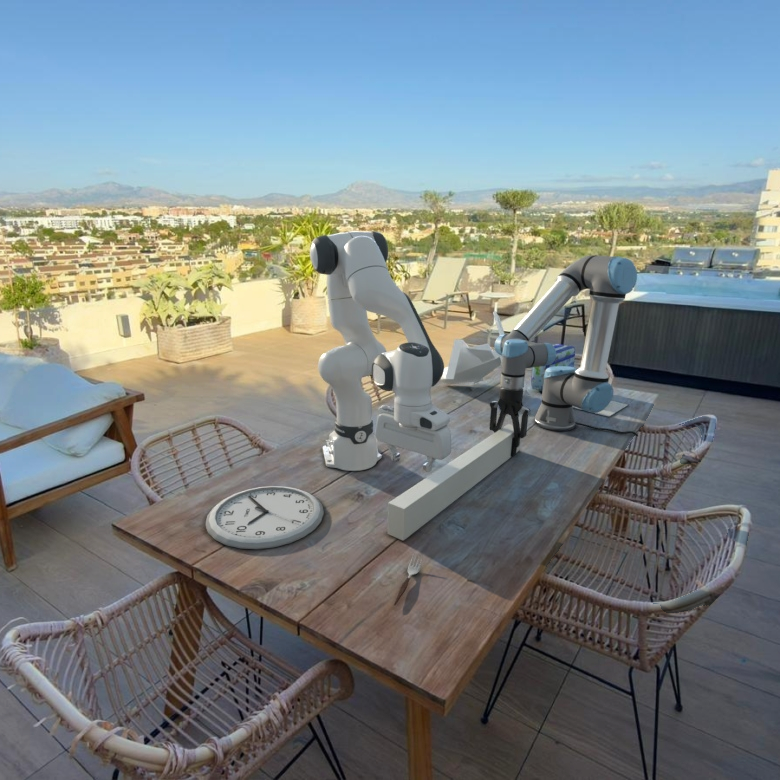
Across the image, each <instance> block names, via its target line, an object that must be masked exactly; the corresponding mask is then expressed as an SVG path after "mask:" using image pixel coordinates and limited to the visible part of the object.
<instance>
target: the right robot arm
mask: <svg viewBox="0 0 780 780" xmlns="http://www.w3.org/2000/svg"><path fill="white" fill-rule="evenodd" d="M637 280H638V271H637V267H636V265H635V264H634V262H633V261H632V260H631V259H630V258H627V257H621V256H608V255H595V254H594V255H593V254H590V255H585V256H583V257H580V258H579V259H577V260H575V261H574V262H572V263H571V264H570V265H568V266H567V267H566V268H564V269H563V270H562V272H561V273H560V274H559V275H557V277H556V278H555V283H554V284H553V285H552V286H551V287H550V289H548V291H547V292H545V294H544V295H543V296H542V297H541V298H540V299H539V300H538V302H537V303H536V304H535V305H533V307H532V308H531V309H530V310H529V312H528V313H527V314H526V315H524V317H523V318H522V319H521V320H520V321H519V322H518V324H517V325H516V326H515V327H514V328H513V329H512V330H511V331H510V333H508V334H505V335H498V337H497V338H496V339H495V341H494V350H495V351H496V352H497V353H498V354H499V355H501V356H502V363H501V370H500V371H501V372H500V382H499V385H500V387H499V394H498V397H499V398H498V400H492V401H491V402H489V407H490V416H489V417H490V418H489V428H488V429H489V431H491V432H493V434H494V433H495V432H497V431H498V430H500V429H501V428H503V424H504V421H505V420H506V416H507V415H509V416H510V418H511V422H512V425H513V429H514V436H515V437H513V438H512V447H511V456H512V457H511V458H513V457H515V456H516V455H517V453H516V450H517V447H519V445H520V446H521V439H524V438H525V437H526V436H527V432H528V425H529V424H528V423H529V415H530V413H531V410H532V409H531V408H529V407H528V408H527V407H525V406H524V404H523V399H524V391H523V387H524V378H525V379H526V369H532V367H540V366H546V365H550V364H552V363H553V362H554V361H555V359H556V350H555V348H554V346H553V345H554V344H552V343H550V342H540V343H539V342H534V341H533V340H534V339H535V338H536V337H537V336H538V335H539V333H541V331H542V330H543V329H544V328H545V327H546V326H547V325H548V324H549V322H551V321H552V319H553V318H554V317H556V315H557V314H558V313H559V311H561V310H562V308H563V307H565V305H566V304H567V303H568V302H569V301H570V300H571V298H572V297H576V296H578V295H579V294H580V293H581V292H582V291H584V290H589V293H588V296H589V297H590V299H591V300H592V303H591V307H590V312H589V313H590V314H589V319H588V323H587V329H586V333H585V340H584V346H583V350H582V356H581V361H580V366H579V367H578V368H577V367H575V366H574V367H569V366H555V367H549V368H547V369H546V370H545V374H544V379H543V390H542V391H541V402H540V405H539V407H538V410H537V411H536V413H535V416H534V424H535V425H536V426H537V427H539V428H542V429H544V430H549V431H556V432H567V431H572V430H574V429H575V428H576V425H577V426H581V427H585V428H588V429H592V430H596V431H603V432H604V431H605V432H611V433H615V434H620V435H626V434H630V435H631V434H632V435H634V436H635V437H639V435H638V433H637V432H635V431H633V430H627V431H620V430H616V429H612V428H607V427H605V428H604V427H597V426H592V425H589V424H586V423H582V422H578V421H576V418H575V417H576V416H575V413H574V407H578V408H580V409H582V410H581V411H584V412H588V411H589V412H588V413H593V414H596V413H597V412H600V411H602V410H604V409H605V408H606V407H607V406H608V404H609V403H610V401H612V399H613V396H614V388H613V385H611V383H609V380H610V375H609V374H608V373H607V366H608V361H609V356H610V351H611V346H612V342H613V336H614V331H615V327H616V326H615V325H616V321H617V316H618V310H619V307H620V304H621V302H623V301H624V300H625V299H626V296H627V294H630V293H632V291H633V289H634V288H635V287H636V284H637ZM498 407H499V409H500V411H499V416H498ZM580 409H579V410H580ZM520 411H521V422H520V418H519V417H520V413H519V412H520ZM497 418H498V420H497ZM520 427H521V431H520Z"/></svg>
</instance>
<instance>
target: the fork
mask: <svg viewBox="0 0 780 780" xmlns="http://www.w3.org/2000/svg"><path fill="white" fill-rule="evenodd" d="M414 555H415V553H413V554H412V557H411V559H410V562H409V565H408V567H407V573H408V576H407V578H406V579H405V580H404V582H403V583H402V584H401V586H400V587H399V591H398V593H397V596H396V598H395V601H394V604H393V606H396V604H397V603H398V602H399V600H400V599H401V598H402V596H403V594H404V593H405V591H406V590H407V588H408V585H409V582H410V579H411V577H412V576H414V575H417V574H418V573H419V572H420V570H421V565H422V561H423V557H424V556H423V555H422V556H421V555H417V554H416V555H415V557H414ZM417 556H418V558H417ZM420 556H421V557H420ZM420 558H421V559H420ZM413 559H414V560H413ZM416 559H417V560H416ZM419 560H420V562H419ZM415 563H416V564H415Z"/></svg>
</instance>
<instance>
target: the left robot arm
mask: <svg viewBox="0 0 780 780" xmlns="http://www.w3.org/2000/svg"><path fill="white" fill-rule="evenodd" d="M388 245H389V244H388V242H387V239H386V237H385V236H384V234H383V233H381V232H379V231H375V230H368V231H360V230H359V231H355V230H354V231H346V232H339V233H333V234H328V235H327V234H323V235H319V236H317V237H314V239H313V240H312V241H311V243H310V249H309V258H310V262H311V265H312V267H313V269H314V270H315V272H317V273H318V274H320V275H325V276H326V296H327V304H328V305H327V306H328V312H329V318H330V321H329V322H330V325H331V327H332V328H333V329H335V330H336V331H337V332H339V333H340V334H341V336H342V338H343V341H344V344H345V345H340V346H336V347H333V348H331V349H329V350H327V351H325V352H324V353H322V354H321V356H320V357H319V359H318V362H317V370H318V373H319V375H320V377H321V379H322V380H323V381H324V382H325V383H326V384H328V385H329V386H330V387H331V389H332V392H333V395H334V397H335V407H336V408H335V409H336V417H335V418H336V419H335V423H334V429H333V431H331V432H330V433H329V435H328V439H325V440H324V442H325V443H324V444H325V445H323V446H322V453H323V454H322V455H323V458H324V463H325V466H326V467H327V468H333V469H334V468H335V469H338V470H341V471H346V472H347V471H349V472H358V471H359V472H360V471H364V470H369V469H371V468H373V467H374V466H375V465H376V464H377V462H378V461H379V460H381V459H382V458H383V456H382V454H381V453H380V452H379V449H378V442H380V443H384V444H386V445H387V449H388V451H389V454H390V460H391V461H392V462H396V463H397V462H399V461H400V459H401V453H399V452H398V450H397V448H401V449H404V450H407V451H411V452H413V453H417V454H419V455H423V456H426V460H428V461H427V462H425V463H423V464H422V471H423V472H426V473H430V472H431V471H432V470H433V464H434V462H435V461H436V460H439V461H443V460H445V459H446V458H448V457H449V456H450V455H451V453H452V432H451V428H450V427H449V426H448V424H450V422H451V417H450V415H449V414H448V413H447V412H445V411H443V410H441V408H439V407H437V406H436V405H434V404H433V403H432V402H433V401H432V400H433V399H432V395H431V389H432V388H433V387H435V386H436V385H437V384H438V383H439V382H440V381H441V377H442V375H443V372H444V368H445V363H444V360H443V356H442V355H441V354H440V352H439V351H438V349H437V348H436V347H435V345H434V343H433V342H432V340H431V338H430V336H429V334H428V331H427V330H426V327H425V325H424V323H423V321H422V319H421V317H420V315H419V313H418V311H417V309H416V307H415V305H414V303H413V302H412V299H411V298H410V297H409V296H408V294H407V293H405V292H404V291H403V290H402V289H400V288H399V287H398V285H397V284H396V283H395V281H394V280H393V278H392V277H391V275H390V271H389V269H388V265H387V261H388V257H389V246H388ZM368 312H369V313H373V314H377V315H380V316H384V317H386V318H389V319H391V320H393V321H395V322H396V323H397V325H398V326H399V327H400V328H401V330H402V332H403V334H404V336H405V340H406V341H407V342H403V343H400V344H398V346H397V348H395V349H394V350H390V351H387V349H386V347H385V346H384V344H382V343H381V341H379V340H378V339H377V338H376V336H375V335H374V333H373V330H372V327H371V326H370V322H369V317H368ZM369 376H371V377H372V382H373V383H374V384H375V385H376V386H377V387H378V388H379V389H380V390H383V391H384V392H393V393H394V399H393V406H389V405H386V404H382V405H381V406H379V407H378V408H377V412H376V414H377V416H376V417H377V418H376V423H375V431H374V420H373V415H372V414H373V398H372V396H371V395H370V394H369V392H367V391H366V390H364V388H363V385H362V384H363V383H362V379H363V378H365V377H369Z"/></svg>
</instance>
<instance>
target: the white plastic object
mask: <svg viewBox="0 0 780 780" xmlns="http://www.w3.org/2000/svg"><path fill="white" fill-rule="evenodd" d="M492 315H493V319H494V321H495V324H496V325H495V326H496V328H497V332H498V336H500V335H506V334H505V331H504V328H503V325H502V321H501V318H500V315H499V314H498V312H497V311H496V310H495V311H492ZM500 366H502V356H501V355H499V354H498V353H497V352H496V351H495V349H493V348H492V347H491V346H490V344H489V343H488V342H487V343H483V344H479V345H473V346H469V345H468V343H466V342H465V340H464V339H463V338H460V339H458V338H454V340H453V344H452V349H451V353H450V357H449V362H448V366H446V367H444V372H443V375H442V377H441V379H440V381H442V383H443V384H444V385H445V386H449V385H458V384H467V383H468V384H469V383H473V384H477V383H480V382H482V381H484V378H485V377H486V376H487V375H489V374H490V373H492V372H494V371H495V370H496V369H497V368H499V367H500ZM528 387H529V386H528V384H527V381H526V377H525V378H524V387H523V394H524V395H525V396H526V397H528V396H531V395H530V390H529V388H528Z"/></svg>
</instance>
